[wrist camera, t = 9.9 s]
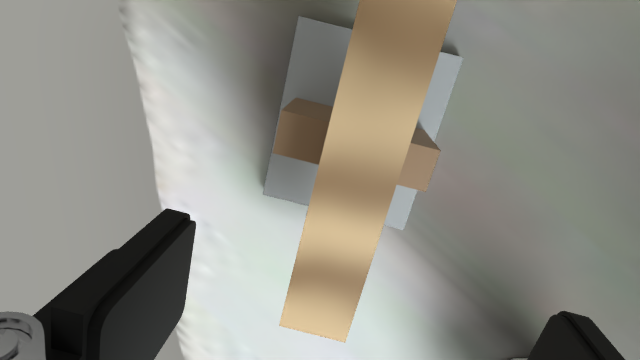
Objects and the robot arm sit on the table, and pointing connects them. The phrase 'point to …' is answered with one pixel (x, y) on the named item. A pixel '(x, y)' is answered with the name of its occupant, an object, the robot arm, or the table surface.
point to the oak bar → (363, 158)
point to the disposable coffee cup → (519, 359)
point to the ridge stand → (315, 112)
